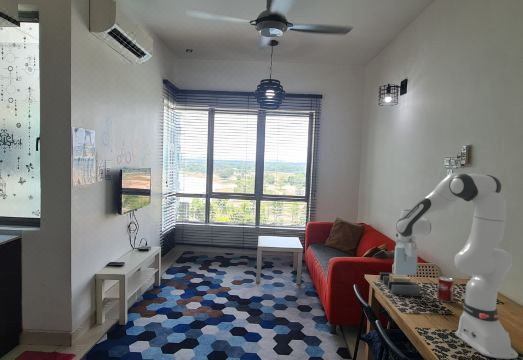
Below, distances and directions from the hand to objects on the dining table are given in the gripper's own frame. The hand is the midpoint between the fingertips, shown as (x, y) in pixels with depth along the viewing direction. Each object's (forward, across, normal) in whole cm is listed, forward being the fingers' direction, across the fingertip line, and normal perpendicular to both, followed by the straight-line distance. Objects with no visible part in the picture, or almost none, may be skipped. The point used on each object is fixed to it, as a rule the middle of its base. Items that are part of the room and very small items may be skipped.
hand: (405, 260), depth 177 cm
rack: (+19, +8, 0) cm, 20 cm away
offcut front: (+18, +5, 0) cm, 18 cm away
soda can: (+19, -8, -19) cm, 28 cm away
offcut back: (+18, +8, 0) cm, 20 cm away
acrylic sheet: (+8, 0, 0) cm, 8 cm away
